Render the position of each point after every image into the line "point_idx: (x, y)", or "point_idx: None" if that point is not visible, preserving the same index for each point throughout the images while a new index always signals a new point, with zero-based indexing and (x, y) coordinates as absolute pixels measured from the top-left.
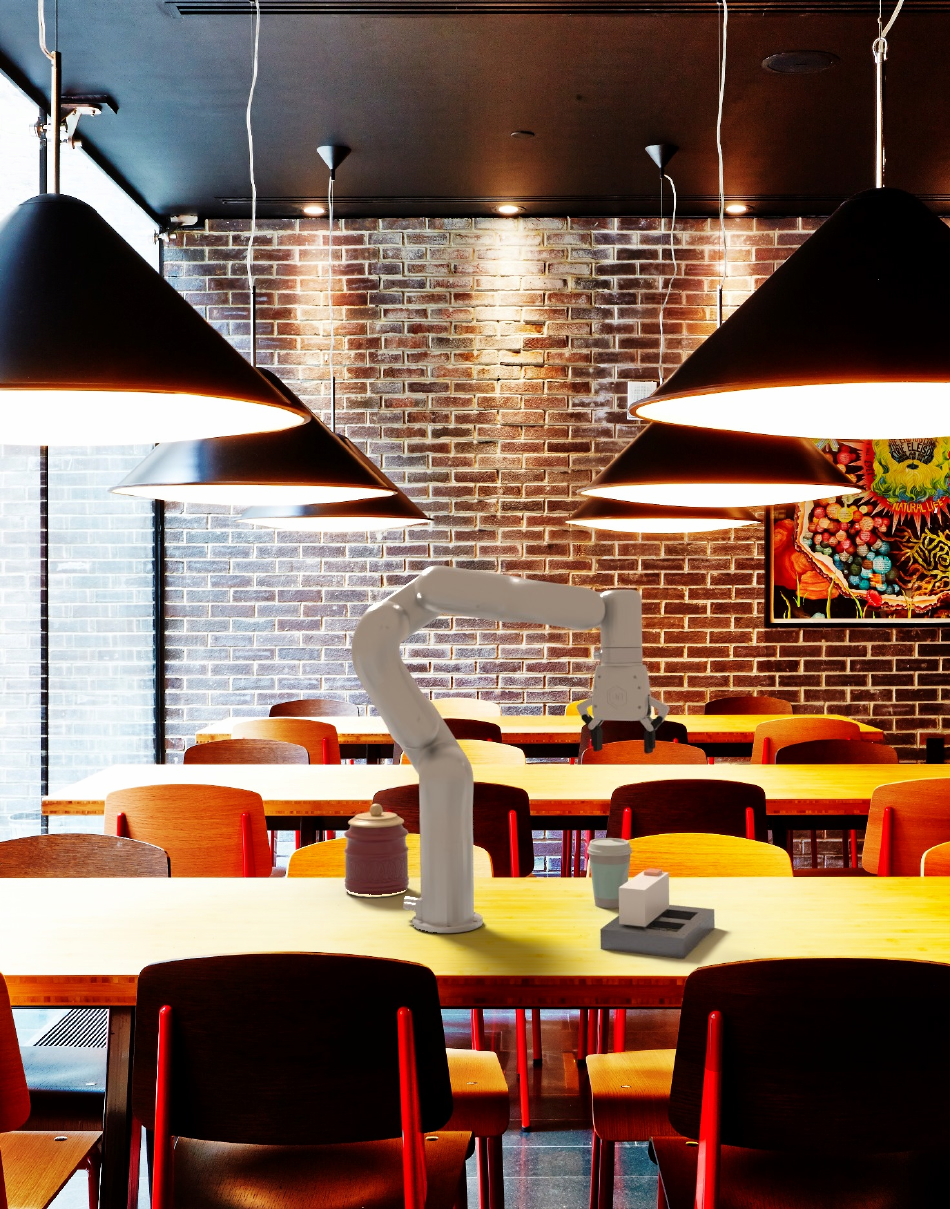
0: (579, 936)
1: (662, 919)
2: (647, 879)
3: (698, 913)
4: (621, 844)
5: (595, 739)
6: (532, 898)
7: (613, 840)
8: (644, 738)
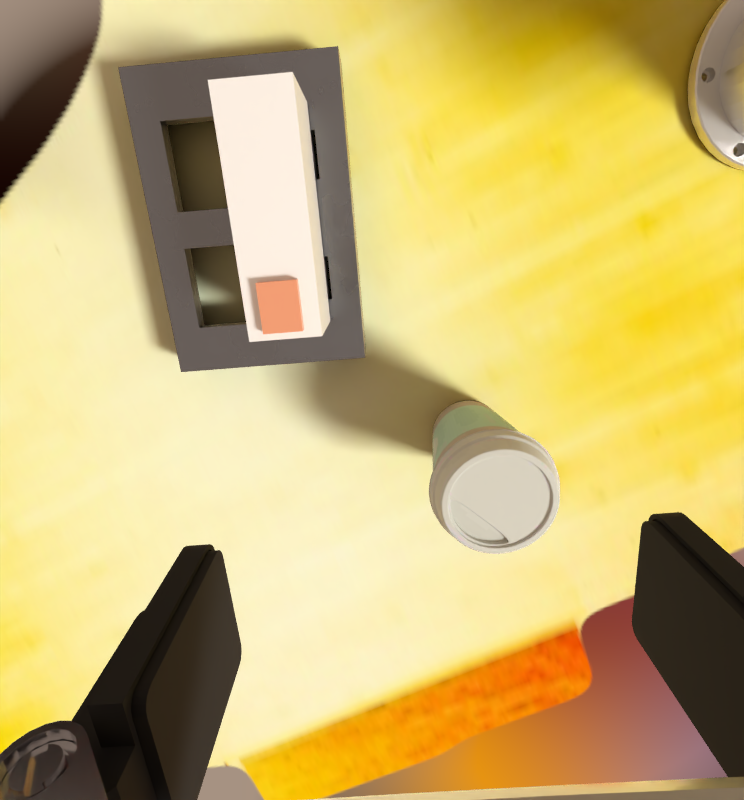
0: (428, 144)
1: None
2: (263, 227)
3: (194, 318)
4: (452, 482)
5: (722, 574)
6: (651, 405)
7: (503, 542)
8: (167, 637)
